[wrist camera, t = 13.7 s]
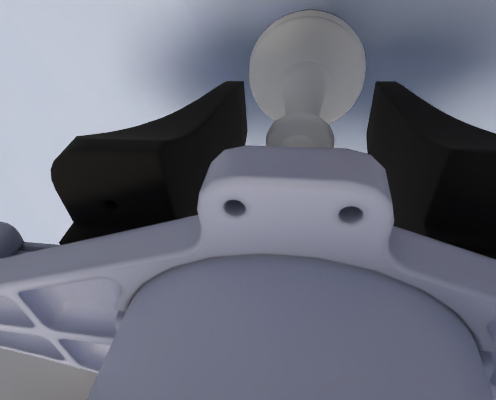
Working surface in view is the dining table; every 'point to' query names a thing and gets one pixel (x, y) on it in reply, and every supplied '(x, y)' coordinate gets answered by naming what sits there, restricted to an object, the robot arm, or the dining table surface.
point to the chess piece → (306, 77)
